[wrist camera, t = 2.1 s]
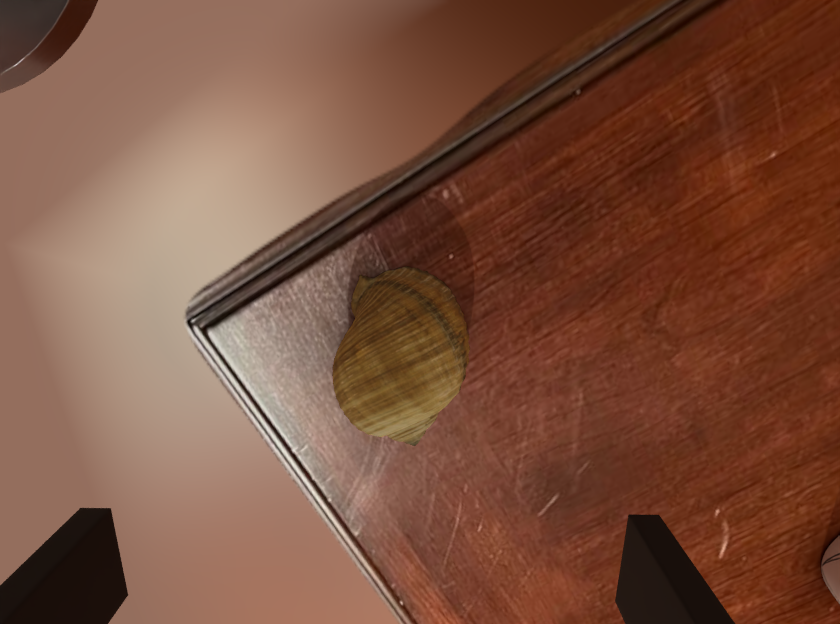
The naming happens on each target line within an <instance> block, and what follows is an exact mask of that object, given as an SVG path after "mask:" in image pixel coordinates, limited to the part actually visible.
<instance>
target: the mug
mask: <svg viewBox="0 0 840 624" xmlns="http://www.w3.org/2000/svg"><path fill="white" fill-rule="evenodd" d="M821 571H822V576H823V579H824V581H825V583H826V585H827V587H828V588H829V590H830V591H831V593H832V594H833V596H834V597H835V598H836V600H837V601H838V603H839V604H840V536H838V537H837V538H836V539H835V540H834V541H833V542H832V543H831V544H830V546H829V547H828V549H827V550H826V552H825V554H824V556H823V559H822V564H821Z"/></svg>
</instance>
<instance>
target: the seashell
mask: <svg viewBox="0 0 840 624" xmlns="http://www.w3.org/2000/svg"><path fill="white" fill-rule="evenodd" d="M351 306H352V312H353V314H354V316H355V320H354V322H353V324H352V326H351V327H350V328H349V330H348V331H347V333H346V335H345V337H344V339H343V340H342V342H341V344H340V346H339V348H338V350H337V353H336V356H335V359H334V364H333V374H332V376H333V385H334V391H335V393H336V399H337V400H338V402H339V405H340V408H341V409H342V410H343V411H344V414H345V415H346V416H347V417H348V418H349V420H350V422H351V423H352V424H353V425H355V426H356V427H357V428H358V429H359V430H360V431H363V432H365V433H366V434H368V435H374V436H378V437H383V436H386V435H387V436H388V437H390V438H391V439H393V440H395V441H403V442H405V443H407V444H410V445H413V446H415V445H416V444H417V443H418V442H419V441H420V439H421V438H422V436H423V435H424V434H425V432H426V429H427V428H429V427H430V426H431V425H432V423H433V422H434V421H435V420H436V418H437V415H438V414H439V411H441V410H442V409H443V408H445V407H446V406H447V405H448V404H449V403H450V401H451V400H452V399H453V398H454V397H455V396H456V395H457V394H458V392H459V391H460V388H461V384H462V382H463V381H464V379H465V374H466V367H467V365H468V362H469V358H468V353H469V350H470V347H469V344H468V340H469V334H468V332H467V330H466V329H467V324H466V322H465V320H464V315H463V313H462V312H461V310H460V305H459V304H458V303H457V302H456V297H454V296H453V295H452V292H451V290H450V289H449V288H448V287H447V286H446V284H445V283H444V282H442V281H441V280H439V279H438V278H437V277H435V276H433V275H431V274H429V273H428V272H427V271H421V270H420V269H418V268H410V267H408V266H407V267H403V268H398V269H396V270H388V271H386V272H384V273H382V274H380V275H379V276H378V277H376V278H368V277H367V276H362V274H361V275H359V280H358V283H357V286H356V288H355V291H354V293H353V297H352V302H351Z"/></svg>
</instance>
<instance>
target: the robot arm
mask: <svg viewBox="0 0 840 624" xmlns="http://www.w3.org/2000/svg"><path fill="white" fill-rule="evenodd" d="M127 596H128V593H127V588H126V582H125V578H124V573H123V567H122V562H121V557H120V552H119V548H118V542H117V537H116V533H115V528H114V523H113V517H112V513H111V509H110V508H80V509H79V510H78V511H77V512H76V513H75V514H74V515H73V516H72V517H71V518H70V519H69V520H68V521H67V522H66V523H65V524H64V525H62V527H60V528H59V529H58V530H57V531H56V532H55V533H54V534H53V535H52V536H51V537H50V538H49V539H48V540H47V541H46V542H45V543H44V544H43V545H42V546H41V547H40V548H39V549H38V550H37V551H36V552H35V553H34V554H32V555H31V556H30V557H29V558H28V559H27V560H26V561H25V562H24V563H23V564H22V565H21V566H20V567H19V568H18V569H17V570H16V571H15V572H14V573H13V574H12V575H11V576H10V577H9V578H8V579H7V580H6V581H4V582H3V584H2V585H0V624H108V623H109V621H110V620H111V618H112V617H113V616H114V614H115V613H116V611H117V610H118V609H119V607H120V606H121V604H122V603H123V601H124V600H125V598H126V597H127ZM615 602H616V604H617V606H618V608H619V611H620V613H621V615H622V617H623V619H624V622H625V624H735V623H734V622H733V620H732V619H731V617H730V616H729V614H728V613H727V612H726V610H725V609H724V607H723V606H722V604H721V603H720V601H719V600H718V599H717V597H716V596H715V594H714V593H713V591H712V590H711V589H710V587H709V586H708V584H707V583H706V581H705V580H704V579H703V577H702V576H701V574H700V573H699V571H698V570H697V569H696V567H695V566H694V564H693V563H692V561H691V560H690V559H689V557H688V556H687V554H686V553H685V551H684V550H683V549H682V547H681V546H680V544H679V543H678V541H677V540H676V539H675V537H674V536H673V534H672V533H671V531H670V530H669V529H668V527H667V526H666V524H665V523H664V521H663V520H662V519H661V517H660V516H659V515H629V516H628V522H627V528H626V535H625V541H624V548H623V554H622V561H621V567H620V574H619V580H618V587H617V593H616V599H615Z"/></svg>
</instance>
